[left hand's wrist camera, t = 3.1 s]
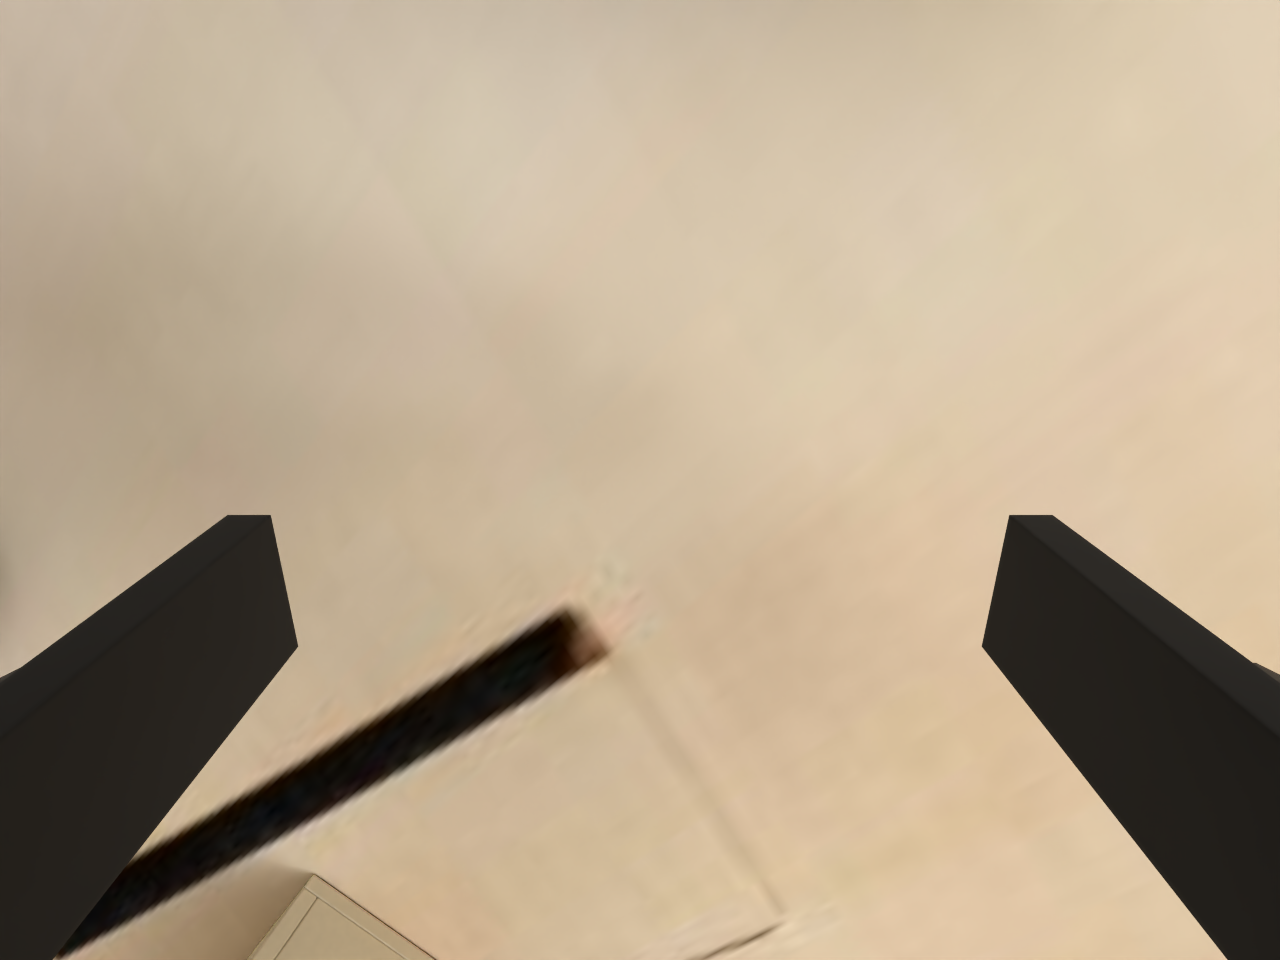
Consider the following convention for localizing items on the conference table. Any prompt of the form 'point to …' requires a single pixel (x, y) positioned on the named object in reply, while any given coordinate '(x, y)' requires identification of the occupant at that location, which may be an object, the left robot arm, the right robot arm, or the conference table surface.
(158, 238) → the conference table surface
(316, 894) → the chest
